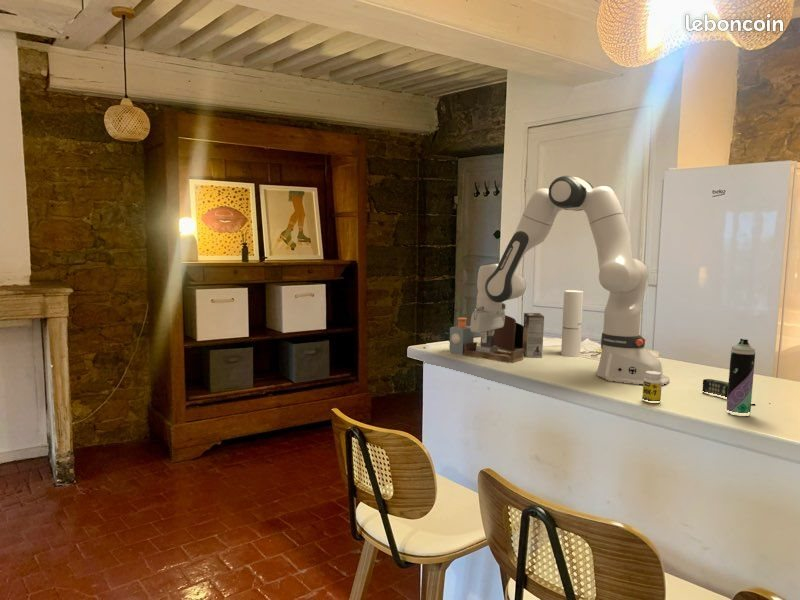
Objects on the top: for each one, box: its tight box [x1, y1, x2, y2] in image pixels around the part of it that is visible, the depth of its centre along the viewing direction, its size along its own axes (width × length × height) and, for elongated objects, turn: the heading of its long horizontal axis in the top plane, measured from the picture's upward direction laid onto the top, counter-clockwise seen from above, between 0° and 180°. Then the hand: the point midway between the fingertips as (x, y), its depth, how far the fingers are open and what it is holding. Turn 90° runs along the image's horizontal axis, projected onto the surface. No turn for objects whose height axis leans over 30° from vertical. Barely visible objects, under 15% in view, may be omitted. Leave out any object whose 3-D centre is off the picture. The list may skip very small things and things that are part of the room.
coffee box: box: [523, 312, 545, 359], centre depth 228 cm, size 9×6×16 cm
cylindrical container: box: [560, 289, 584, 358], centre depth 229 cm, size 7×7×25 cm
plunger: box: [457, 317, 468, 328], centre depth 231 cm, size 4×4×7 cm
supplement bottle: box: [641, 371, 663, 402], centre depth 165 cm, size 5×5×8 cm
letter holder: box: [486, 314, 524, 352], centre depth 245 cm, size 10×20×14 cm, turn 28°
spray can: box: [726, 338, 756, 413], centre depth 154 cm, size 6×6×20 cm
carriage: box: [476, 335, 499, 354], centre depth 225 cm, size 6×6×7 cm
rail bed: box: [463, 341, 524, 364], centre depth 223 cm, size 21×8×4 cm, turn 52°
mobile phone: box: [701, 378, 729, 397], centre depth 170 cm, size 5×3×15 cm
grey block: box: [448, 325, 475, 356], centre depth 231 cm, size 6×8×10 cm
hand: (487, 341), depth 224 cm, fingers closed on carriage, 2 cm apart
